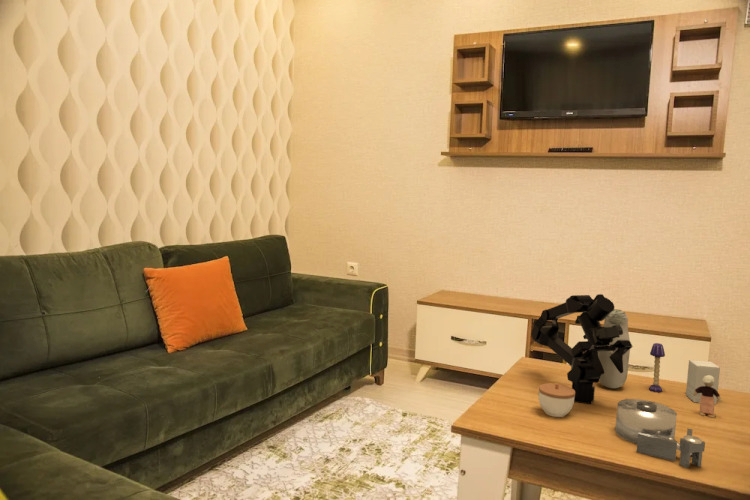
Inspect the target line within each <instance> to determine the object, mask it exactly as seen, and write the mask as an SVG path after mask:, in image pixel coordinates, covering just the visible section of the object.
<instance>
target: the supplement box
mask: <svg viewBox="0 0 750 500" xmlns="http://www.w3.org/2000/svg"><path fill="white" fill-rule="evenodd" d="M687 365H688V369H687V378H686V389H685V396H687V397H688V398H689V399H690V400H691V401H692V402H693V403H697V404H698V403H699V404H700V399H701V395H702V393H698V394H697V395H696V396H693V393H694V391H695V389H697V388H698V387H701V386H705V384H704V383H703V382H702V379H703V378H704V377H705V376H707V375H710V376H713V377H714V381H715V382H714V384H713V386H711V387H712V388H714V389H716V390H717V392H718V393H719V391H718V390H719V380H720V373H721V372H720V371H721V367H720V366H718V365H717V364H715V363H714V362H713V361H708V360H707V361H706V360H694V359H693V360H692V359H690V360H688V364H687ZM713 397H714V405H717V402H718V399H717V397H716V396H715V395H714V394H713Z"/></svg>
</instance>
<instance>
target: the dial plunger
mask: <svg viewBox="0 0 750 500" xmlns="http://www.w3.org/2000/svg"><path fill="white" fill-rule="evenodd" d="M668 439H670V440H674V441H677V440H676V439H673V438H668ZM676 451H679V452H681V448H680V442H677V449H676ZM693 455H694V453H690V458H692V457H693Z"/></svg>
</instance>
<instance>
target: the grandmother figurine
mask: <svg viewBox="0 0 750 500" xmlns="http://www.w3.org/2000/svg"><path fill="white" fill-rule="evenodd" d="M702 382H703V383H704V384H705V386H701V387H698V388H697V389H695V391H694V393H693V396H696V395H697V394H698V393H702V395H701V399H700V403H699V412H698V415H700V416H704V417H706V416H707V417H709V418H715V417H716V416H717V415H716V414H715V404H714V397H713V394H714V395H715V396H716V397H717V402H718V403H721V402H722V401H723V400H722V399H721V398H722V397H721V394H720V393H719V391H718V392H717V390H716V389H714V388H712V387H711V386H713V384H714V382H715V381H714V377H713V376H710V375H707V376H705V377H704V378H703V379H702Z"/></svg>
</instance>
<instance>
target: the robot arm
mask: <svg viewBox="0 0 750 500" xmlns="http://www.w3.org/2000/svg"><path fill="white" fill-rule="evenodd" d="M614 309H615V304H614V303H613V301H612V300H610V299H609V298H608V297H605V296H604V294H601V293H599V294H596V295H595V297H594V298H592V297H591V295H589V294H582V295H581V294H579V295H578V294H574V295H570V296H569V297H568V298H566V300H565V302H564V303H563V302H562V303H561V304H558V305H556V306H553V307H550V308H548V309H544V310H542V311H541V314H540V316H539V318H538V319H537V320H536V321H535V322H534V324H533V327H532V330H531V338H532V340H533V342H535V343H537V345H538V344H539V345H541V346H545V347H548V348H549V349H550V350H552V351H553V352H554V353H555V354H556V355H557V356H559V357H560V358H561V359H562V360H563V361H564V362H566V363H567V364H568V365H569V366H570V370H568V372H567V373H566V376H567V380H568V381H569V382H571V384H572V385H571V388H572V389H574V390H575V398H574V402H578V403H584V404H589V405H591V404H592V402H593V401H594V399H595V389H596V387H595V386H594V384H595V383H597V384H599V383H600V381H599V379H600V376H601V374H604V373H605V372H604V369H603V366H602V364H601V362H600V359H599V357H598V351H610V353H611V356H610V357H609V358H610V359H611V361H612V362H613V364H614V365H615V367H616V368H617V370H618V371H619V372H620V373H623V355H624V354H625V353H626V352H627V351H628V350H630V351H631V349H632V348H633V347H634V346H633V344H632V342H631V341H629V340H617V341H616V342H615V343H614V344H611V345H610V342H612V341H613V338H616V337H617V338H619V337H620V335H622V334H623V330H622V328H621V326H620V325H615V326H612V327H603V326H602V324H601V322H602V321H604V320H605V318H606V317H607V316H608V315H609V314H610V313H611V312H612V311H613V310H614ZM576 313H577V314H578V313H579V314H580V315H577V316H576V319H575V320H574V321H575V323H574V324H575V325H579V324H580V326H581V329H582V330H583V333H584V335H583V336H582V337H583V340H585V341H577V343H576V344H575V345H574V346H573V347H571V346H570V345H569V344H567V343H566V342H565V341H564V340H562V339H561V338H560V337H559V330H560V327H559V323H558V321H559V319H561V318H563V317H566V316H570V315H572V314H576ZM548 321H551V322H552V324H551V325H547V326H546V324H547V322H548ZM586 340H587V341H586Z"/></svg>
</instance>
